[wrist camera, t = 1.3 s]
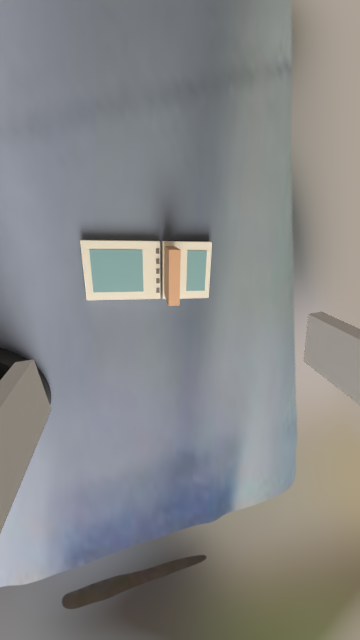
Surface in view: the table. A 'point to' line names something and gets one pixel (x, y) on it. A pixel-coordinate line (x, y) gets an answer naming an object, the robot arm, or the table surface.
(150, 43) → the table surface
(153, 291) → the cream tablet with screen
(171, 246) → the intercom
